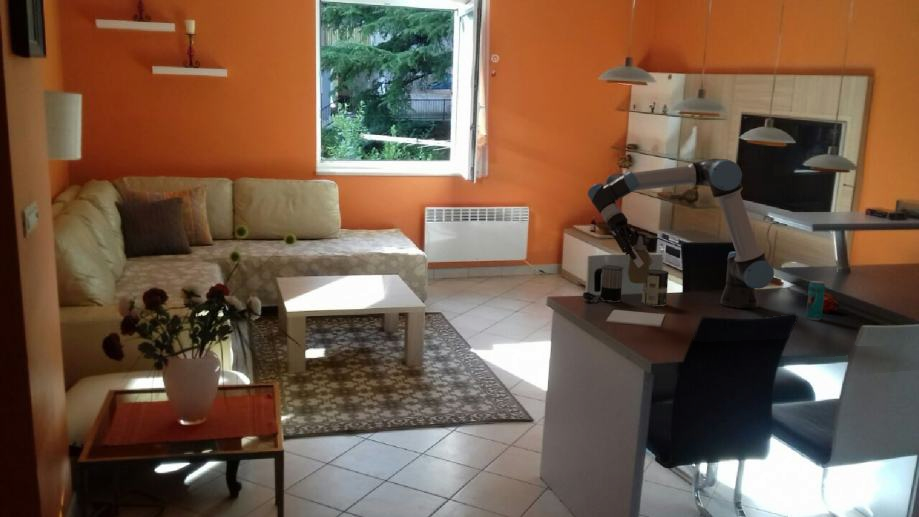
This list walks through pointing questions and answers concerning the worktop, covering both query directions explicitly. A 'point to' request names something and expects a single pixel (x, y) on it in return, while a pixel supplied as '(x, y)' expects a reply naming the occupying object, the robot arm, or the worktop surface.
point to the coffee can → (655, 288)
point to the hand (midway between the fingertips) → (646, 264)
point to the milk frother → (607, 283)
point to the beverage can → (815, 300)
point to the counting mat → (636, 318)
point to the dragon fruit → (829, 303)
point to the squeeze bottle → (641, 273)
